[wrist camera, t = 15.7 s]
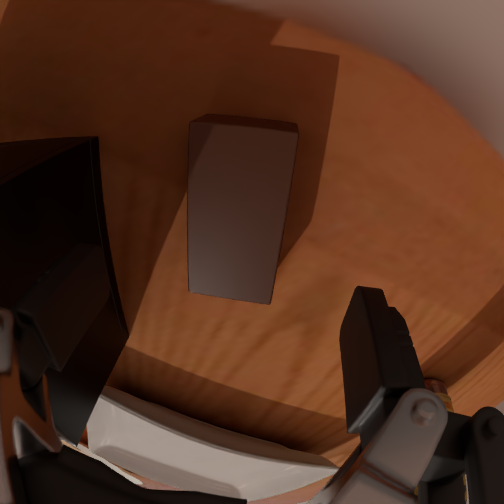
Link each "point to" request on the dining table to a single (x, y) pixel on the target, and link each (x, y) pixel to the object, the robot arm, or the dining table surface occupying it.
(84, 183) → the waste bin
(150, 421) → the square plate
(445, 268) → the dining table surface
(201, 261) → the chocolate bar
